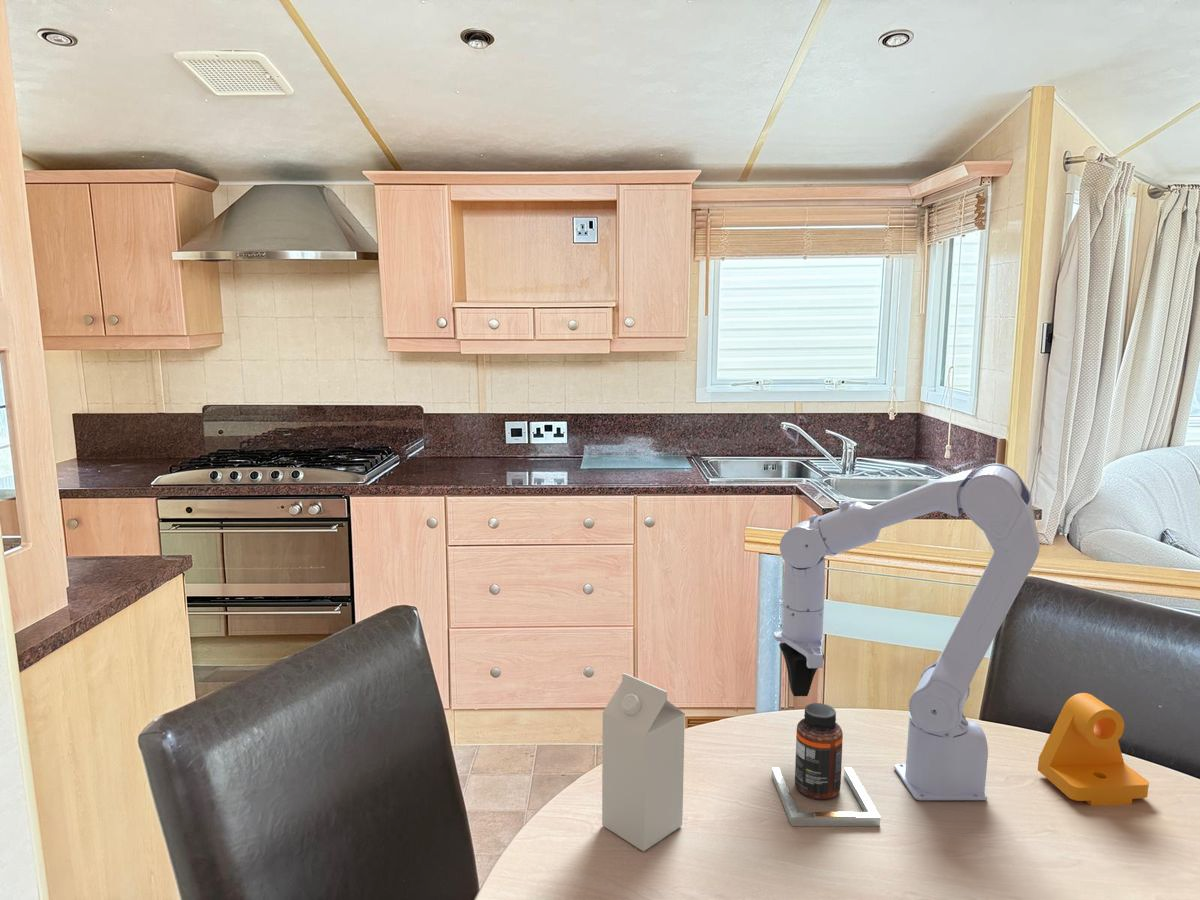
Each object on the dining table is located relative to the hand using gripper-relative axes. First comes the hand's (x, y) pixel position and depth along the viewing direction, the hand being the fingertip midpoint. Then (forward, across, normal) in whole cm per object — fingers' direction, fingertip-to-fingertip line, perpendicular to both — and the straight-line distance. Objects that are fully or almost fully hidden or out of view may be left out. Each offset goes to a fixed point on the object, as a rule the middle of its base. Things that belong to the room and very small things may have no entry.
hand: (799, 694), depth 115 cm
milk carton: (+8, +19, -24) cm, 32 cm away
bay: (+8, +13, 0) cm, 15 cm away
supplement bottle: (+8, +11, 0) cm, 14 cm away
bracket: (+9, +11, +37) cm, 39 cm away
